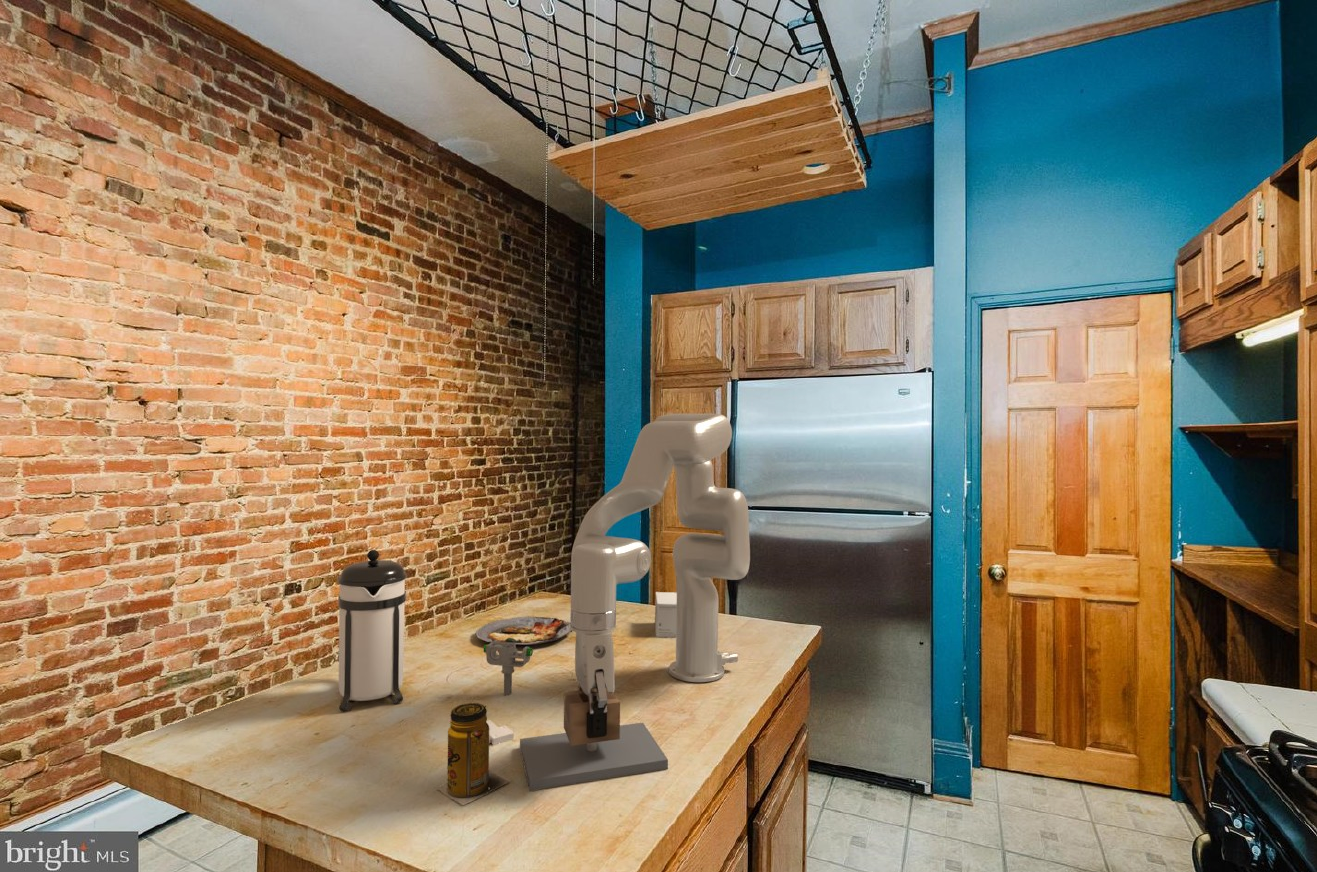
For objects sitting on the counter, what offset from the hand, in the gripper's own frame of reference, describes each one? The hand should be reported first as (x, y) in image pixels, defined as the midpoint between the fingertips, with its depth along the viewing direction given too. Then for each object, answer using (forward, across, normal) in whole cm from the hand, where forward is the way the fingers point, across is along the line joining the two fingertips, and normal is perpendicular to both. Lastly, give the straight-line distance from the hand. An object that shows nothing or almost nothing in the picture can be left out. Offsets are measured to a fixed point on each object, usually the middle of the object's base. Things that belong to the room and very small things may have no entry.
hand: (591, 725), depth 106 cm
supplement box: (+5, +62, -40) cm, 74 cm away
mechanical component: (+6, +31, +11) cm, 33 cm away
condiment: (+6, -3, +19) cm, 20 cm away
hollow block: (+1, 0, 0) cm, 1 cm away
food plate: (+6, +69, +3) cm, 69 cm away
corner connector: (+6, +13, +17) cm, 22 cm away
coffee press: (+6, +38, +38) cm, 54 cm away
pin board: (+5, 0, 0) cm, 5 cm away
